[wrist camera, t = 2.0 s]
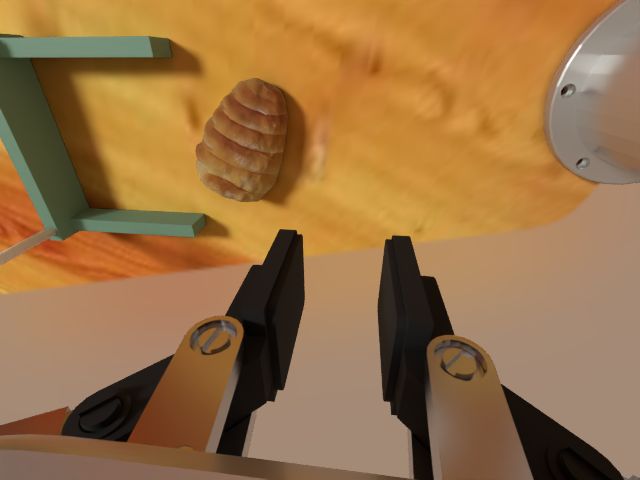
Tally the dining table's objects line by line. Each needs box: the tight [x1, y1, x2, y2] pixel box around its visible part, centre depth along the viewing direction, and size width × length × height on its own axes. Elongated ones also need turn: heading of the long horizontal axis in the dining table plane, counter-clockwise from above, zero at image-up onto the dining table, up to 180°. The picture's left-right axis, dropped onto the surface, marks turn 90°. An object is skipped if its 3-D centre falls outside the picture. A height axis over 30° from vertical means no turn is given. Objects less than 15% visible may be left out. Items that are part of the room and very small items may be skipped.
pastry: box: [196, 78, 288, 202], centre depth 25 cm, size 9×7×4 cm
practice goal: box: [0, 34, 206, 266], centre depth 21 cm, size 13×16×14 cm
